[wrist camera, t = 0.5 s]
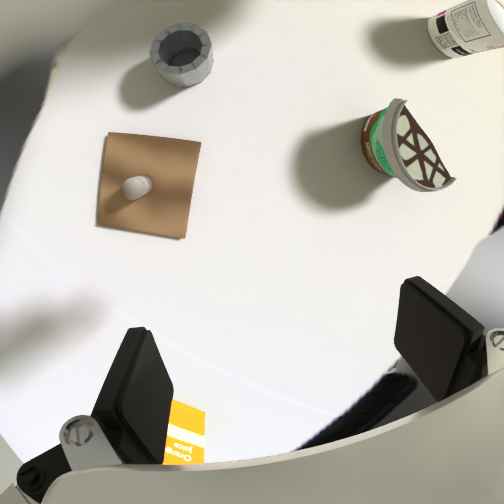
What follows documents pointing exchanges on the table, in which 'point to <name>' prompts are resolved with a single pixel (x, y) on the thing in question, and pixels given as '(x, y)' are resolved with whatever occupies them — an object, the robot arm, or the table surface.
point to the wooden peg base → (148, 183)
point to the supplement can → (468, 28)
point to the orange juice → (185, 435)
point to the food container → (403, 149)
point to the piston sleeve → (179, 40)
